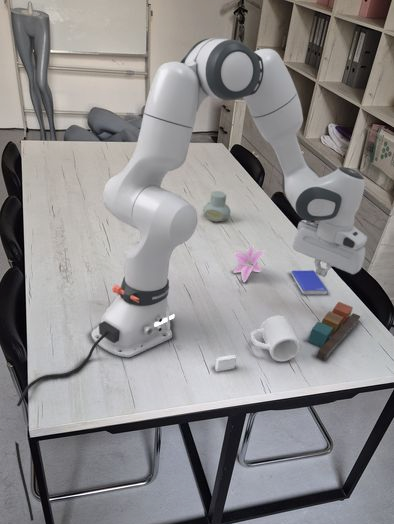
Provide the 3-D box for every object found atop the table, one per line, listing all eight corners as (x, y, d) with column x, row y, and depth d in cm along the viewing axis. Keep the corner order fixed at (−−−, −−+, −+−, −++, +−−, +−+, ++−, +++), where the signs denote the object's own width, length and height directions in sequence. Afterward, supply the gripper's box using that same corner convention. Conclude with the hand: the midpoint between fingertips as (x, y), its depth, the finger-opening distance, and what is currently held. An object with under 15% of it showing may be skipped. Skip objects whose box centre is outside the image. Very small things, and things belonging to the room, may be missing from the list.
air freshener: (199, 219, 191) (202, 194, 185) (205, 211, 197) (208, 187, 191) (226, 225, 189) (230, 200, 183) (231, 217, 195) (235, 193, 189)
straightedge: (324, 361, 130) (326, 354, 129) (316, 357, 131) (318, 350, 130) (358, 322, 146) (360, 316, 145) (350, 319, 147) (353, 312, 146)
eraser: (234, 368, 124) (236, 357, 122) (216, 371, 123) (218, 360, 120) (232, 365, 125) (234, 354, 123) (214, 368, 124) (216, 357, 121)
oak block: (333, 336, 139) (337, 324, 136) (319, 330, 141) (323, 317, 138) (339, 329, 142) (343, 317, 139) (325, 323, 144) (329, 311, 141)
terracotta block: (343, 326, 144) (348, 313, 141) (329, 320, 146) (333, 308, 143) (348, 319, 147) (353, 307, 144) (334, 313, 149) (338, 301, 146)
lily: (231, 265, 167) (226, 247, 159) (265, 255, 166) (261, 236, 158) (238, 292, 161) (233, 275, 153) (273, 282, 160) (269, 264, 151)
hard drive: (328, 290, 156) (314, 270, 165) (304, 290, 154) (291, 270, 164) (326, 294, 157) (313, 274, 166) (302, 294, 155) (290, 274, 165)
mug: (285, 338, 137) (291, 314, 131) (296, 361, 129) (303, 337, 124) (244, 339, 134) (248, 315, 129) (253, 363, 127) (258, 339, 122)
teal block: (322, 348, 135) (327, 335, 132) (307, 341, 136) (311, 328, 133) (328, 340, 138) (333, 327, 135) (314, 334, 139) (318, 321, 137)
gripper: (295, 220, 135) (284, 264, 143) (364, 247, 126) (348, 292, 135) (305, 214, 139) (294, 257, 147) (373, 239, 130) (356, 284, 139)
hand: (320, 274), depth 141 cm, fingers closed
